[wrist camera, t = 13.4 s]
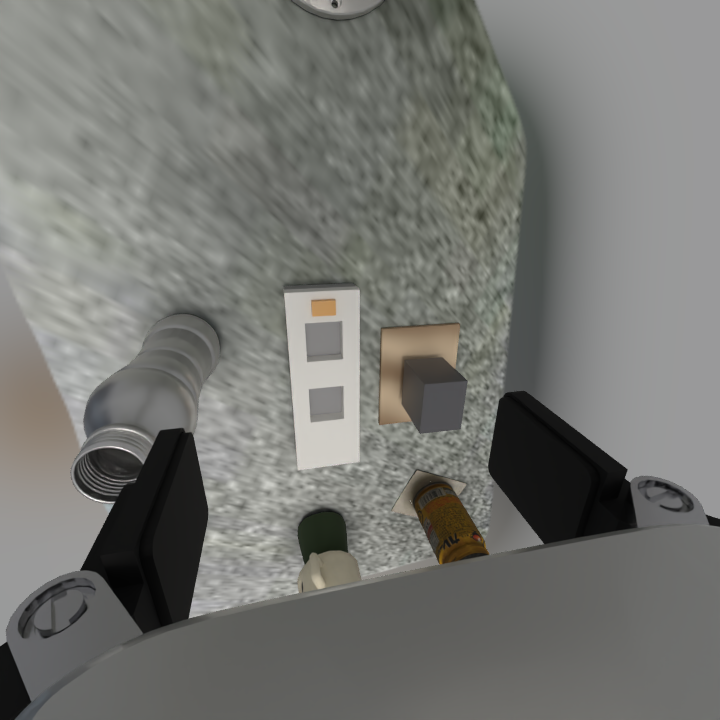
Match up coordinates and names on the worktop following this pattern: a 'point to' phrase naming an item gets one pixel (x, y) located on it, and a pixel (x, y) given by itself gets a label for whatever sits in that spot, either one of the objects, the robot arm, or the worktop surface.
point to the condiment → (442, 517)
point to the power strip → (324, 371)
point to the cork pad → (404, 347)
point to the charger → (433, 394)
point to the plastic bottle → (144, 404)
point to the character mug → (325, 553)
